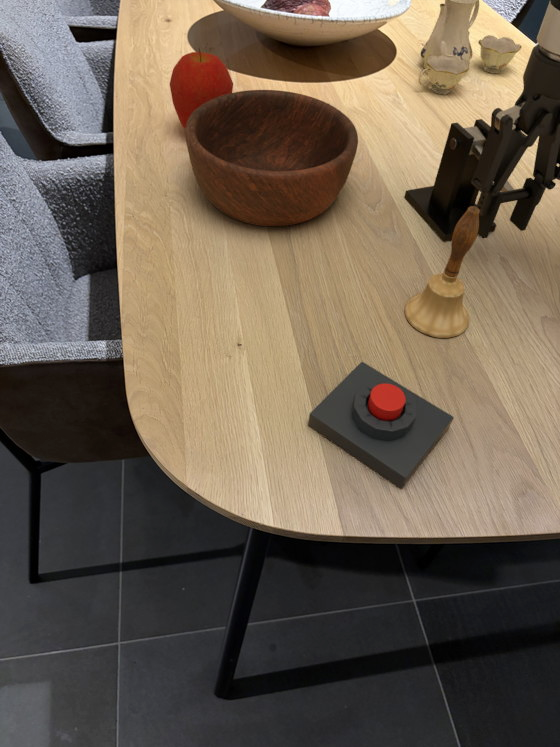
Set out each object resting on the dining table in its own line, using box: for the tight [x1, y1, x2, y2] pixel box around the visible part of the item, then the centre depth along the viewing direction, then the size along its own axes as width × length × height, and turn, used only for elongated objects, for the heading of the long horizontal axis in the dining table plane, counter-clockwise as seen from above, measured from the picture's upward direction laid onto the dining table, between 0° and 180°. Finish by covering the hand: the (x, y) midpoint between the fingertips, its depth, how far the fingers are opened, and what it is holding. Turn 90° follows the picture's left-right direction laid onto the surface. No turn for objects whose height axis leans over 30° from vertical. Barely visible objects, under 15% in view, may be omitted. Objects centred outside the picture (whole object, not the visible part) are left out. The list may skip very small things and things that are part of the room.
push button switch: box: [307, 361, 455, 490], centre depth 64 cm, size 12×10×4 cm
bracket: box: [404, 118, 497, 243], centre depth 88 cm, size 12×9×14 cm
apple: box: [169, 47, 234, 129], centre depth 100 cm, size 10×10×14 cm
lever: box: [463, 126, 532, 204], centre depth 82 cm, size 13×6×2 cm, turn 21°
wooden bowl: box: [184, 89, 359, 227], centre depth 91 cm, size 25×25×10 cm
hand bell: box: [404, 206, 480, 339], centre depth 72 cm, size 8×8×16 cm
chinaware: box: [418, 0, 522, 96], centre depth 121 cm, size 28×17×17 cm, turn 136°
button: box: [368, 384, 405, 421], centre depth 62 cm, size 4×4×2 cm
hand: (498, 228), depth 83 cm, fingers closed on lever, 5 cm apart
